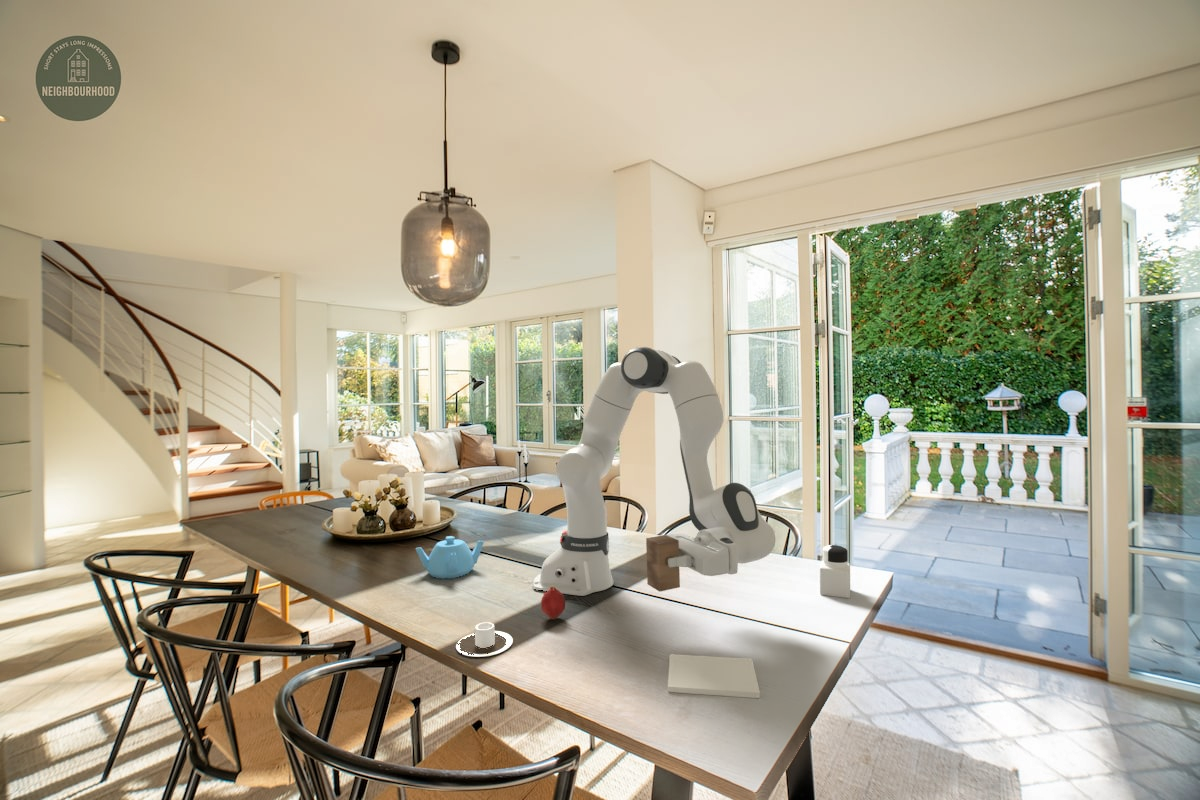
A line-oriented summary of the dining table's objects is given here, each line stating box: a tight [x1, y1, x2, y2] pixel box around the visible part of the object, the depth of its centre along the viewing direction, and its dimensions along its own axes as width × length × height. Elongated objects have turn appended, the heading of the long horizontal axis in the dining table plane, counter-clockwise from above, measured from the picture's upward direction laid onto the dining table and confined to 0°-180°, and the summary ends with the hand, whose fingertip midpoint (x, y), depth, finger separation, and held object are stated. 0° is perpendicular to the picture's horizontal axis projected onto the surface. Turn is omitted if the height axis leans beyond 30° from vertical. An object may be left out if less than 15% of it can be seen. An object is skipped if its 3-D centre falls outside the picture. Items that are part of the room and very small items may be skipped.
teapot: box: [415, 535, 485, 579], centre depth 165 cm, size 15×15×11 cm
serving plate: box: [667, 653, 761, 699], centre depth 102 cm, size 16×12×1 cm
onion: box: [540, 586, 566, 620], centre depth 130 cm, size 6×6×8 cm
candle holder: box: [455, 621, 514, 658], centre depth 117 cm, size 12×12×4 cm
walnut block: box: [645, 534, 681, 592], centre depth 117 cm, size 5×5×10 cm
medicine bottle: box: [819, 544, 851, 599], centre depth 143 cm, size 7×7×12 cm
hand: (659, 558), depth 116 cm, fingers closed on walnut block, 5 cm apart
